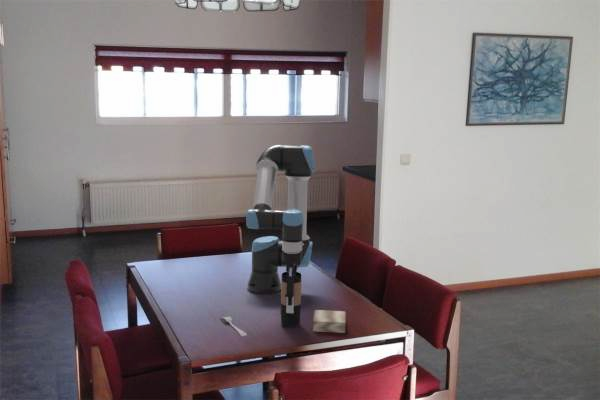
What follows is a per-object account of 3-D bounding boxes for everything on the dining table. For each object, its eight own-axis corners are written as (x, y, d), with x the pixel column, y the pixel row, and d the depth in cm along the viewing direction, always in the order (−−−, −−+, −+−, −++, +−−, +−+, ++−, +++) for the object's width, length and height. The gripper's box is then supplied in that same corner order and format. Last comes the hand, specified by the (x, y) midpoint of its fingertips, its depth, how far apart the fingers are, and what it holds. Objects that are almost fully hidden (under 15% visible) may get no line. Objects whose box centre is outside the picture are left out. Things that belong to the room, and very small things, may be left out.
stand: (313, 331, 237) (313, 321, 237) (314, 319, 249) (314, 309, 248) (345, 332, 237) (345, 322, 236) (345, 321, 248) (345, 311, 248)
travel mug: (279, 320, 247) (280, 271, 243) (299, 320, 248) (300, 271, 244) (281, 328, 240) (282, 277, 236) (301, 327, 240) (302, 277, 237)
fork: (241, 343, 231) (241, 336, 230) (218, 318, 248) (218, 312, 247) (248, 341, 233) (248, 335, 232) (224, 317, 250) (225, 311, 249)
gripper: (300, 259, 228) (298, 319, 232) (303, 244, 248) (302, 300, 252) (279, 258, 229) (278, 318, 233) (284, 244, 249) (283, 299, 253)
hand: (290, 308), depth 243 cm, fingers closed on travel mug, 8 cm apart
